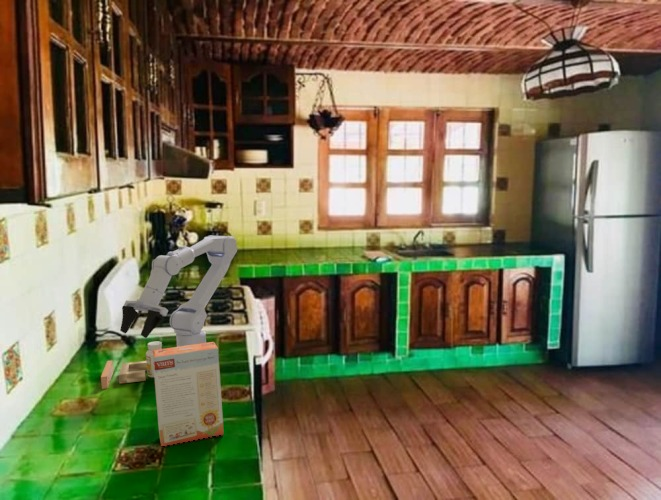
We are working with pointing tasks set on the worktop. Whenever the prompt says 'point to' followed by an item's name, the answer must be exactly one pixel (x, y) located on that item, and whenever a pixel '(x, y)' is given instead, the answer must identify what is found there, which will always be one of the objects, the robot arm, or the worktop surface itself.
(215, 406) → the cracker box
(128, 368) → the slot block
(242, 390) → the worktop surface
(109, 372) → the rail
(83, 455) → the worktop surface
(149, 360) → the supplement bottle
